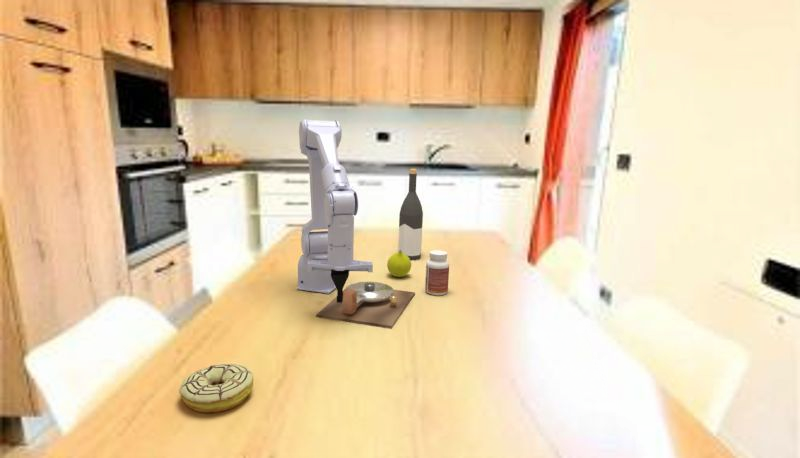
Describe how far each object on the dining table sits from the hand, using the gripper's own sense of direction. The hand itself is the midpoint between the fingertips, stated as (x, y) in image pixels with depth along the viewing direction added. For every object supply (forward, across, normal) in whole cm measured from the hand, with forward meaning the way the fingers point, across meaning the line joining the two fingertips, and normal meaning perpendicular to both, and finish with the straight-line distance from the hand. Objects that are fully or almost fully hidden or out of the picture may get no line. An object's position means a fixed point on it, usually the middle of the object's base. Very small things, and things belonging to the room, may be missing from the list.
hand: (340, 301), depth 103 cm
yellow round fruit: (+3, +16, +28) cm, 33 cm away
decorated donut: (+4, -18, -32) cm, 37 cm away
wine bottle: (+3, +21, +49) cm, 53 cm away
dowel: (+3, +12, +4) cm, 14 cm away
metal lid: (+2, +6, +7) cm, 9 cm away
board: (+3, +7, +6) cm, 10 cm away
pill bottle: (+4, +25, +16) cm, 30 cm away
